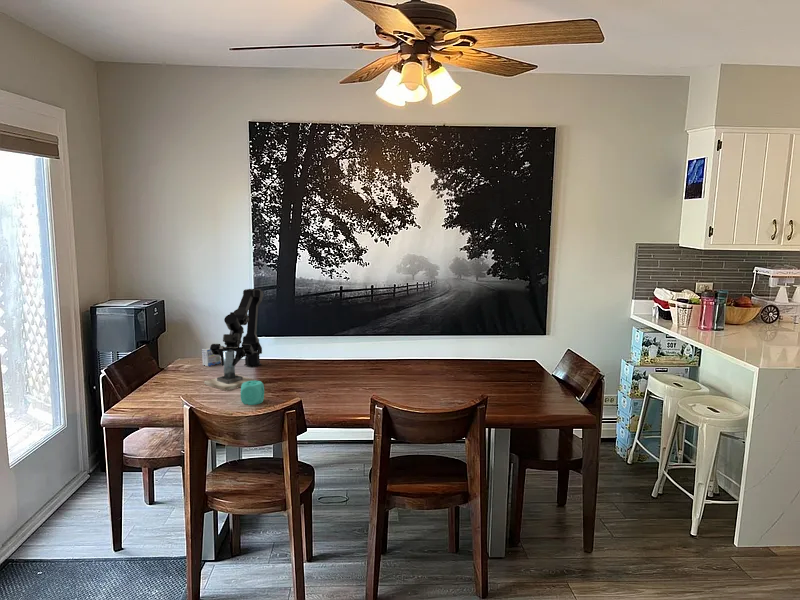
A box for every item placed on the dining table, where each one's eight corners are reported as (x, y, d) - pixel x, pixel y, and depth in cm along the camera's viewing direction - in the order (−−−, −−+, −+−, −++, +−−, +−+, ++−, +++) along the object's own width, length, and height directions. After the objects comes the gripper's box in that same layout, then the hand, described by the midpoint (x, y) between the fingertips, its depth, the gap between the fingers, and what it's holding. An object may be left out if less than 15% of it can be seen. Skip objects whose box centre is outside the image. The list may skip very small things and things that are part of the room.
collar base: (234, 376, 281) (234, 370, 281) (255, 382, 271) (255, 376, 271) (204, 384, 269) (204, 378, 269) (225, 390, 259) (225, 384, 259)
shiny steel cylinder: (227, 377, 273) (225, 349, 271) (237, 377, 272) (235, 349, 270) (222, 380, 268) (221, 351, 266) (232, 380, 267) (231, 352, 265)
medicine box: (207, 366, 300) (206, 350, 299) (202, 365, 303) (201, 348, 302) (221, 363, 307) (220, 347, 305) (215, 362, 309) (214, 346, 308)
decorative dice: (264, 398, 248) (263, 380, 247) (261, 405, 240) (260, 385, 239) (245, 399, 248) (244, 380, 246) (241, 405, 240) (240, 386, 238)
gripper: (210, 326, 271) (202, 356, 262) (250, 326, 270) (243, 356, 260) (217, 339, 280) (209, 368, 271) (256, 340, 279) (250, 369, 269)
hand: (228, 365), depth 268 cm, fingers closed on shiny steel cylinder, 5 cm apart
